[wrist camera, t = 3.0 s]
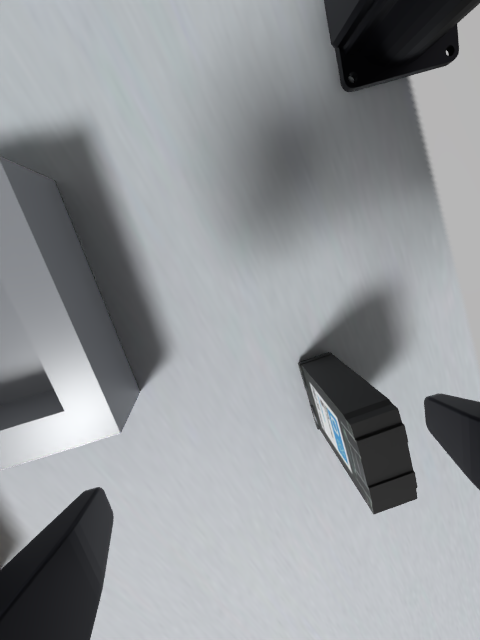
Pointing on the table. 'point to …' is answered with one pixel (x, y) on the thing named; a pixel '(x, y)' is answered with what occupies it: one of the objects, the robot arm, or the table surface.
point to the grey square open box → (52, 330)
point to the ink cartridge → (361, 431)
